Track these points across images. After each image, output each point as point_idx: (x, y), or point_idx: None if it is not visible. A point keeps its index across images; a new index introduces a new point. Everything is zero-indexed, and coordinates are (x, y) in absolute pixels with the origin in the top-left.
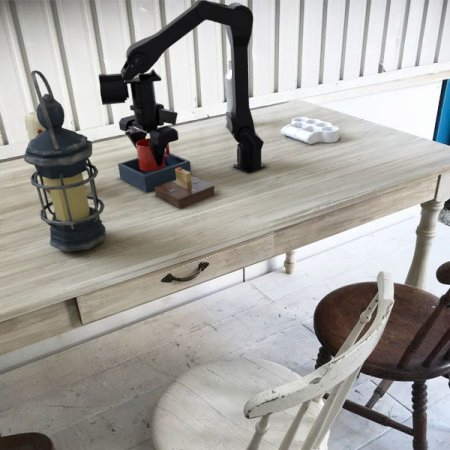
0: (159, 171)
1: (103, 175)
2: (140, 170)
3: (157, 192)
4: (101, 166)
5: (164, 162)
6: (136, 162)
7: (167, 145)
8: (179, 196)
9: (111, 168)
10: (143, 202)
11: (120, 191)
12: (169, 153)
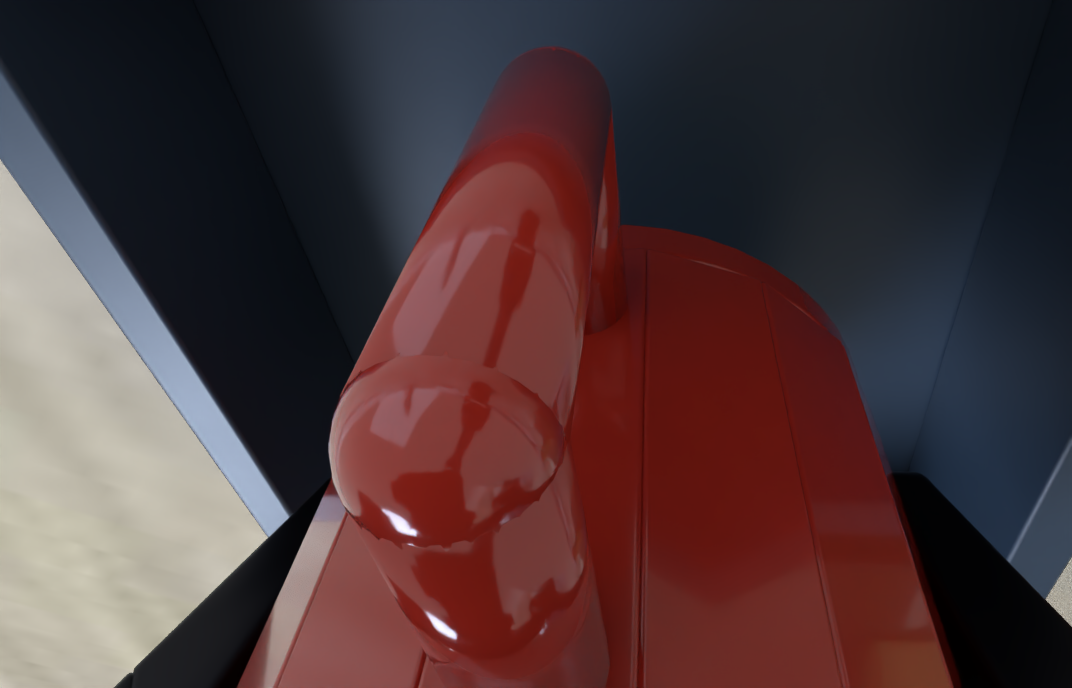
0: (1067, 560)
1: (250, 533)
2: (347, 348)
3: None
4: (17, 469)
5: (816, 343)
6: (314, 476)
7: (574, 355)
8: None
9: (92, 441)
10: (1067, 598)
11: None
12: (599, 112)
